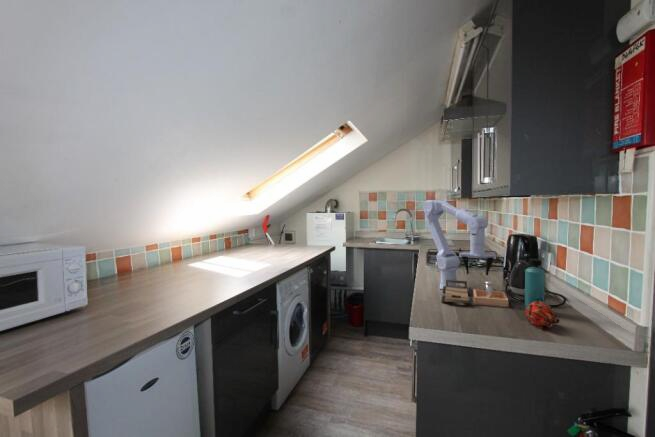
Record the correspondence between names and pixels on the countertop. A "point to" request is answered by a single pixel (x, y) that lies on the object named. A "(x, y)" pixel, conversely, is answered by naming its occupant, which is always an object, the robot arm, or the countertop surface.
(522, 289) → the pump dispenser
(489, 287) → the pin
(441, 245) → the robot arm
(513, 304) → the countertop surface
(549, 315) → the dragon fruit
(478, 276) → the countertop surface
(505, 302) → the tray
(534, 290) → the teal bottle
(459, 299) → the trolley
